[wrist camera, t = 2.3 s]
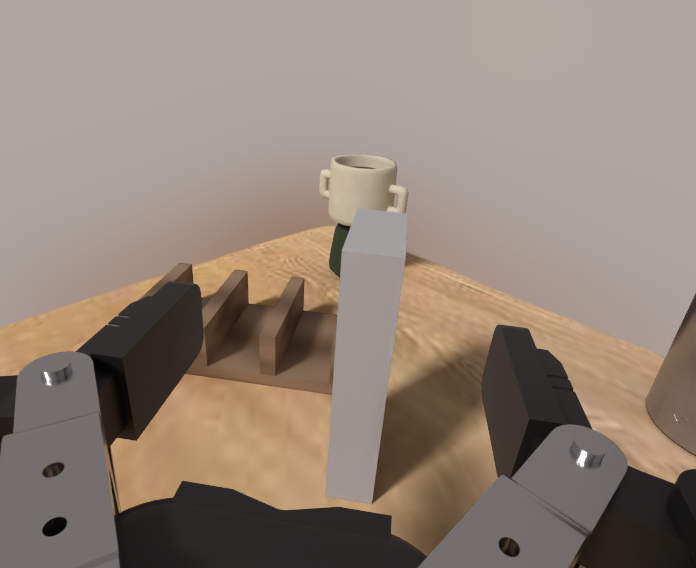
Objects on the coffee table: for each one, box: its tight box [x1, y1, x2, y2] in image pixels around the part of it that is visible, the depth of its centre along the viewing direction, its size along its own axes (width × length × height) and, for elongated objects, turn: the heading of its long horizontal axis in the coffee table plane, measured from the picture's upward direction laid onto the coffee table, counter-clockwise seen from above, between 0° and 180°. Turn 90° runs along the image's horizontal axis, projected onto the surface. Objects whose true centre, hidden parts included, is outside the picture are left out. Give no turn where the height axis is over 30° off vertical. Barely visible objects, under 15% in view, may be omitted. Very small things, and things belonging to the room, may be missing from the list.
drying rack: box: [139, 263, 337, 394], centre depth 40 cm, size 10×17×4 cm, turn 82°
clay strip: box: [325, 208, 408, 504], centre depth 27 cm, size 6×3×16 cm, turn 172°
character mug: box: [319, 154, 408, 276], centre depth 52 cm, size 11×7×13 cm, turn 58°
